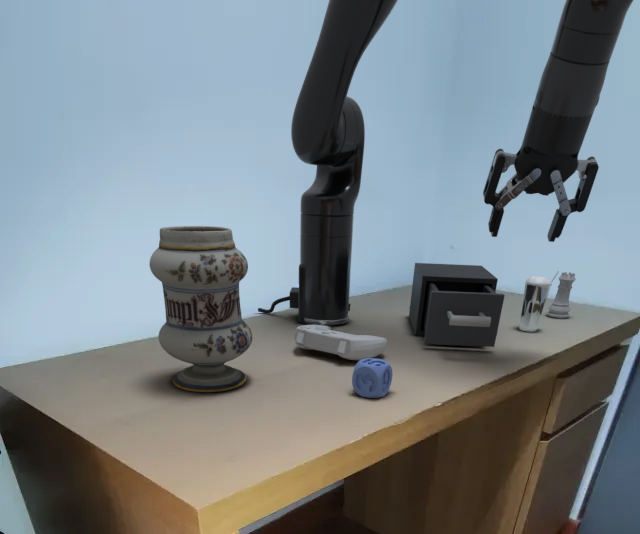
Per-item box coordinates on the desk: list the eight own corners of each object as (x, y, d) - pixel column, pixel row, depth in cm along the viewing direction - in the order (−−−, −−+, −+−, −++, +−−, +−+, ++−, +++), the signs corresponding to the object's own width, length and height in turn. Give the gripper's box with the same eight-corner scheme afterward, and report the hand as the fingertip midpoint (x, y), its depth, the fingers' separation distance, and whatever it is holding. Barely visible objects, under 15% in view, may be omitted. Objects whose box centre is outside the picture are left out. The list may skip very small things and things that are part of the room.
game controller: (395, 334, 89) (363, 331, 81) (389, 363, 90) (357, 363, 83) (319, 319, 95) (283, 315, 87) (315, 347, 97) (280, 345, 89)
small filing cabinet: (486, 338, 101) (498, 278, 95) (415, 335, 101) (422, 275, 95) (472, 319, 112) (481, 265, 107) (408, 317, 113) (415, 262, 107)
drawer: (501, 356, 88) (513, 302, 84) (428, 353, 88) (435, 299, 84) (479, 327, 104) (488, 280, 99) (417, 324, 104) (422, 277, 99)
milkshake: (547, 333, 105) (562, 273, 99) (518, 332, 105) (532, 272, 99) (540, 327, 109) (554, 269, 103) (512, 326, 109) (525, 268, 103)
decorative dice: (364, 386, 78) (366, 356, 75) (391, 391, 76) (394, 361, 74) (350, 394, 75) (352, 363, 72) (378, 400, 73) (381, 369, 71)
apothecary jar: (209, 362, 84) (197, 220, 74) (272, 379, 79) (269, 228, 68) (145, 382, 76) (121, 226, 66) (210, 402, 71) (196, 235, 60)
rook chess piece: (571, 319, 116) (583, 275, 111) (550, 318, 116) (561, 274, 111) (564, 314, 119) (575, 271, 115) (543, 313, 119) (553, 271, 115)
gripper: (615, 97, 74) (565, 229, 87) (505, 87, 74) (472, 221, 87) (627, 118, 69) (573, 253, 83) (511, 108, 70) (476, 245, 83)
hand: (521, 236), depth 85 cm, fingers open, 8 cm apart
